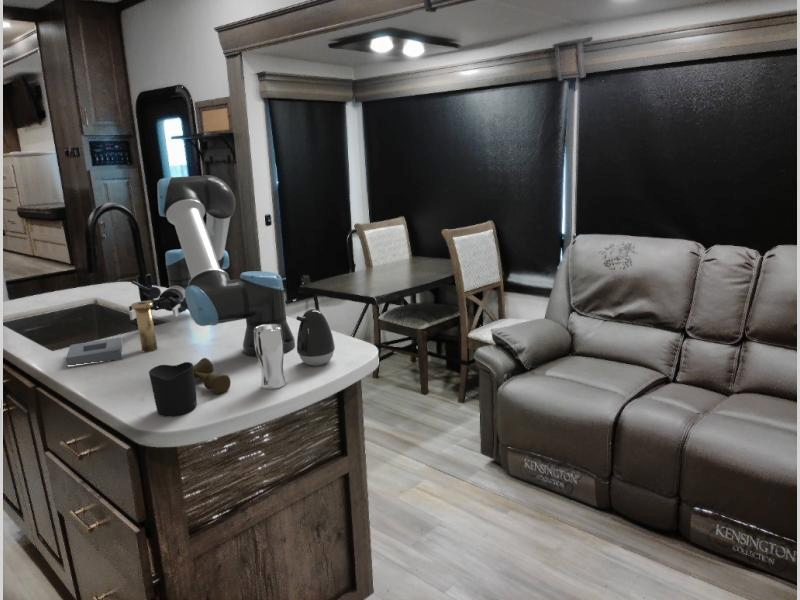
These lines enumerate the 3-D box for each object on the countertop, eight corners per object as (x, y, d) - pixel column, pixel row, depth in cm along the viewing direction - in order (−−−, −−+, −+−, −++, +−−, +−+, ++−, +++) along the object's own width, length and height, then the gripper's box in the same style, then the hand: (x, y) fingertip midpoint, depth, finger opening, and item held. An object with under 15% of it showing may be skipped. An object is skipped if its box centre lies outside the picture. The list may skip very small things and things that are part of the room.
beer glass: (279, 391, 143) (272, 332, 139) (254, 389, 145) (247, 331, 142) (292, 380, 149) (287, 324, 146) (269, 378, 152) (262, 323, 148)
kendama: (206, 403, 140) (163, 383, 153) (240, 390, 147) (196, 372, 160) (204, 379, 139) (161, 361, 151) (238, 368, 146) (194, 351, 158)
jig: (121, 359, 174) (119, 349, 173) (67, 368, 169) (65, 358, 168) (122, 346, 187) (120, 337, 186) (72, 354, 181) (70, 344, 181)
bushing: (160, 350, 180) (153, 303, 176) (139, 354, 178) (131, 306, 174) (159, 345, 185) (152, 299, 182) (139, 348, 183) (131, 302, 179)
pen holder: (175, 421, 130) (168, 378, 127) (146, 413, 134) (139, 372, 132) (207, 404, 138) (201, 364, 135) (179, 398, 142) (173, 359, 140)
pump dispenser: (290, 364, 161) (284, 311, 158) (319, 353, 169) (315, 302, 165) (314, 372, 155) (308, 316, 151) (343, 360, 162) (339, 307, 158)
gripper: (209, 306, 211) (193, 323, 190) (139, 310, 209) (114, 328, 189) (207, 285, 209) (190, 300, 188) (135, 290, 208) (110, 305, 187)
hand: (152, 314), depth 189 cm, fingers open, 13 cm apart
